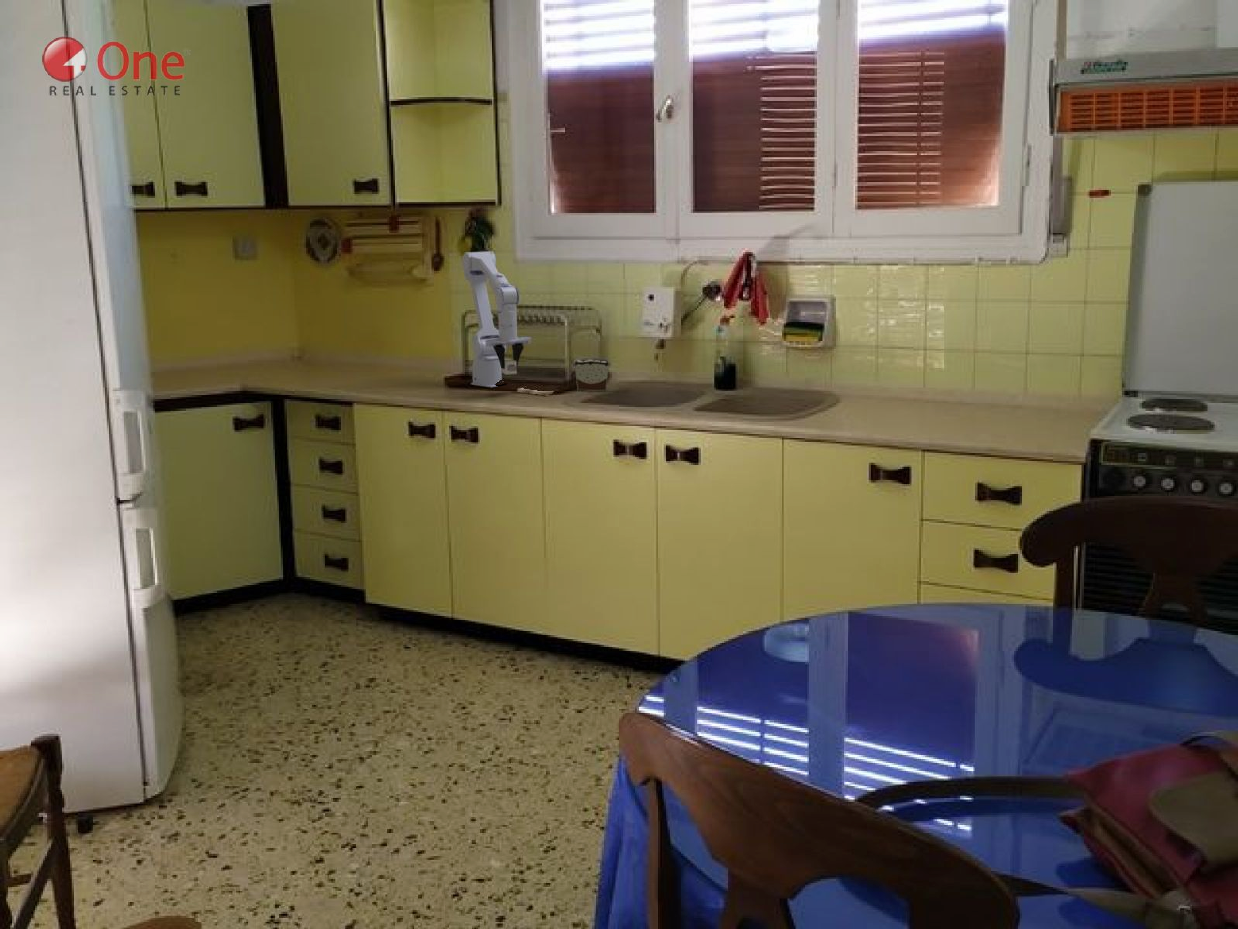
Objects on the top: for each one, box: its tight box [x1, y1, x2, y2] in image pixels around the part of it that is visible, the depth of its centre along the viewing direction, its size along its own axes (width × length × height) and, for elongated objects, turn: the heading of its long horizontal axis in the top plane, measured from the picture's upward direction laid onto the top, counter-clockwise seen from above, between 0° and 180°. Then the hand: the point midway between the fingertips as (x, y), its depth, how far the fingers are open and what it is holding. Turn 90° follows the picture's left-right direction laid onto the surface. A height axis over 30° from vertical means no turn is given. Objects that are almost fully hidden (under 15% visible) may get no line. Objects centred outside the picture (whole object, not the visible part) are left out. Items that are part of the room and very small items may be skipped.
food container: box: [572, 356, 611, 392], centre depth 382 cm, size 12×6×10 cm, turn 84°
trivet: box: [517, 387, 554, 397], centre depth 380 cm, size 12×12×1 cm
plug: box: [501, 358, 518, 375], centre depth 374 cm, size 8×4×4 cm, turn 23°
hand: (509, 367), depth 374 cm, fingers closed on plug, 4 cm apart
